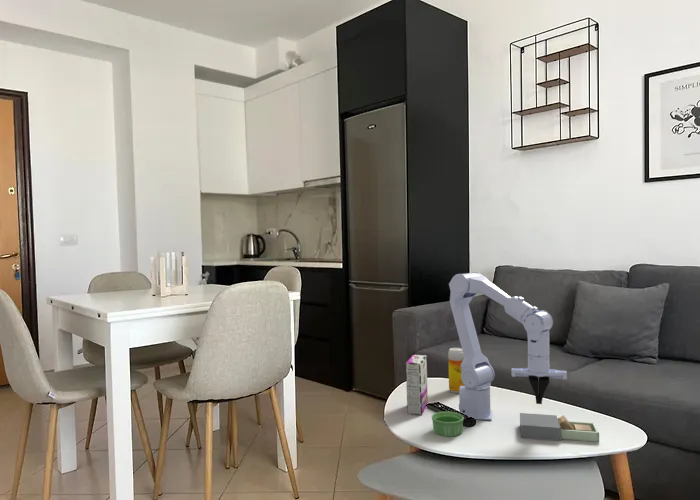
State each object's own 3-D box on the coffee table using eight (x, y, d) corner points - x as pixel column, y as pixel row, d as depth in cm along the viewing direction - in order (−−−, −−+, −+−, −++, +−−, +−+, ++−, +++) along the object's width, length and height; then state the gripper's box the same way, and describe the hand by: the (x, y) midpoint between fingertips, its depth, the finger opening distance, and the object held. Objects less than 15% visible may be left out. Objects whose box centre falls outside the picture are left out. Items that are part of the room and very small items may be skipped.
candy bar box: (413, 403, 176) (412, 354, 176) (428, 404, 174) (427, 355, 174) (406, 414, 165) (405, 362, 165) (421, 415, 164) (421, 363, 163)
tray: (561, 439, 143) (561, 429, 143) (558, 429, 150) (557, 420, 150) (599, 442, 140) (599, 432, 140) (594, 431, 148) (594, 422, 148)
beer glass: (462, 394, 184) (461, 351, 183) (446, 392, 187) (445, 350, 187) (468, 390, 189) (468, 348, 188) (452, 387, 192) (452, 346, 192)
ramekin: (432, 425, 156) (431, 410, 155) (463, 426, 154) (463, 411, 154) (431, 437, 147) (431, 421, 147) (464, 438, 145) (464, 422, 145)
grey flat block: (521, 437, 145) (521, 425, 144) (520, 424, 154) (519, 412, 154) (560, 440, 142) (560, 427, 142) (556, 427, 152) (556, 415, 151)
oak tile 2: (592, 430, 143) (592, 437, 143) (589, 425, 146) (589, 432, 146) (576, 429, 144) (576, 436, 144) (573, 424, 147) (573, 431, 148)
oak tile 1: (559, 423, 145) (565, 420, 144) (557, 418, 148) (563, 415, 148) (568, 436, 144) (574, 432, 144) (566, 430, 148) (572, 427, 147)
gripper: (511, 357, 145) (512, 405, 146) (568, 359, 142) (568, 409, 142) (511, 351, 152) (511, 397, 153) (565, 353, 148) (565, 401, 149)
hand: (538, 402), depth 148 cm, fingers closed
